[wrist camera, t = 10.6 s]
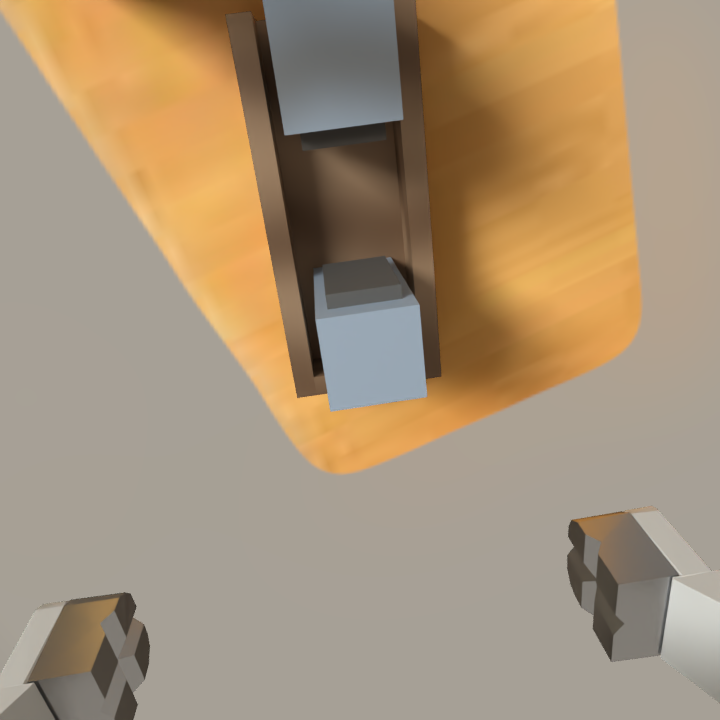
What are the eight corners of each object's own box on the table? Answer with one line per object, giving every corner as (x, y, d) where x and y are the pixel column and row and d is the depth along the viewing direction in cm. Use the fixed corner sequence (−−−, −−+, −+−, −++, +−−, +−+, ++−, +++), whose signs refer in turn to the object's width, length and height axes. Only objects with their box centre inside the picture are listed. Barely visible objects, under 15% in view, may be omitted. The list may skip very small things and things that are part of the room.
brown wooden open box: (235, 27, 25) (199, -18, 17) (401, 6, 25) (447, -49, 17) (298, 370, 32) (295, 458, 24) (428, 351, 32) (470, 431, 24)
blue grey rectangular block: (311, 256, 28) (312, 304, 21) (389, 245, 28) (418, 289, 21) (324, 340, 30) (330, 411, 23) (398, 329, 30) (427, 397, 23)
